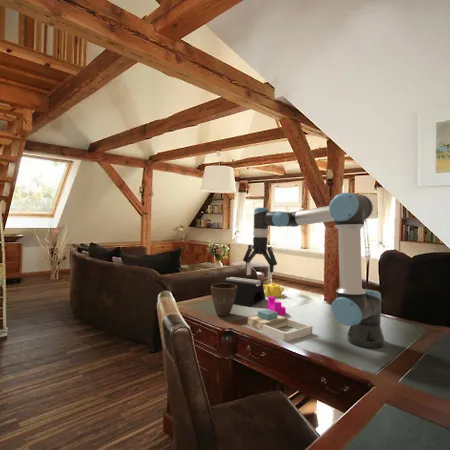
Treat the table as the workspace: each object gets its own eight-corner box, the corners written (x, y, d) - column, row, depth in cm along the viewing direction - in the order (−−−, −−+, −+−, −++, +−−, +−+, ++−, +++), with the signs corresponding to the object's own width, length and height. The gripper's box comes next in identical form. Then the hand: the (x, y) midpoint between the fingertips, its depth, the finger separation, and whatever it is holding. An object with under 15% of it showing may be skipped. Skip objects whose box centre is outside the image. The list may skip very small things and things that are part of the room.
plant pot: (231, 309, 193) (231, 282, 193) (240, 316, 179) (241, 287, 179) (207, 311, 188) (207, 283, 188) (214, 318, 174) (215, 288, 174)
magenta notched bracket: (285, 316, 183) (285, 302, 183) (274, 316, 182) (274, 302, 182) (277, 309, 197) (278, 296, 197) (267, 309, 197) (268, 296, 197)
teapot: (285, 300, 220) (285, 285, 220) (266, 300, 218) (267, 285, 218) (278, 295, 233) (279, 281, 233) (261, 296, 231) (261, 281, 231)
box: (312, 333, 153) (312, 326, 153) (285, 341, 142) (285, 333, 142) (288, 325, 165) (288, 318, 165) (262, 332, 154) (262, 325, 154)
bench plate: (287, 325, 164) (287, 318, 164) (264, 331, 155) (264, 323, 155) (270, 320, 174) (270, 312, 174) (247, 325, 164) (247, 317, 164)
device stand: (249, 308, 198) (250, 283, 198) (219, 302, 210) (219, 279, 210) (265, 301, 217) (266, 278, 217) (236, 296, 229) (236, 275, 229)
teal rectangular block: (277, 318, 163) (277, 312, 163) (267, 320, 159) (267, 314, 159) (267, 314, 169) (267, 309, 169) (257, 317, 165) (257, 311, 165)
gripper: (284, 238, 167) (283, 279, 168) (245, 235, 183) (244, 272, 184) (277, 238, 161) (275, 280, 162) (237, 235, 178) (236, 274, 178)
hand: (259, 276), depth 173 cm, fingers open, 13 cm apart
